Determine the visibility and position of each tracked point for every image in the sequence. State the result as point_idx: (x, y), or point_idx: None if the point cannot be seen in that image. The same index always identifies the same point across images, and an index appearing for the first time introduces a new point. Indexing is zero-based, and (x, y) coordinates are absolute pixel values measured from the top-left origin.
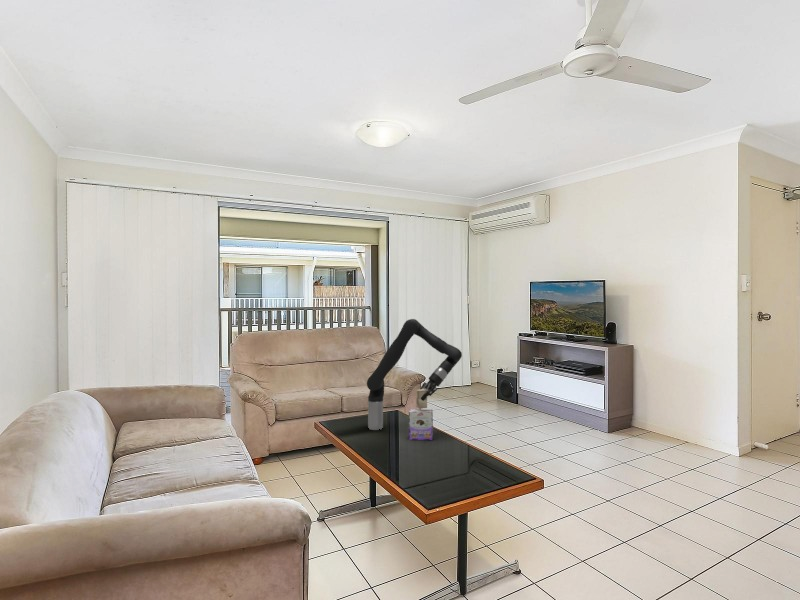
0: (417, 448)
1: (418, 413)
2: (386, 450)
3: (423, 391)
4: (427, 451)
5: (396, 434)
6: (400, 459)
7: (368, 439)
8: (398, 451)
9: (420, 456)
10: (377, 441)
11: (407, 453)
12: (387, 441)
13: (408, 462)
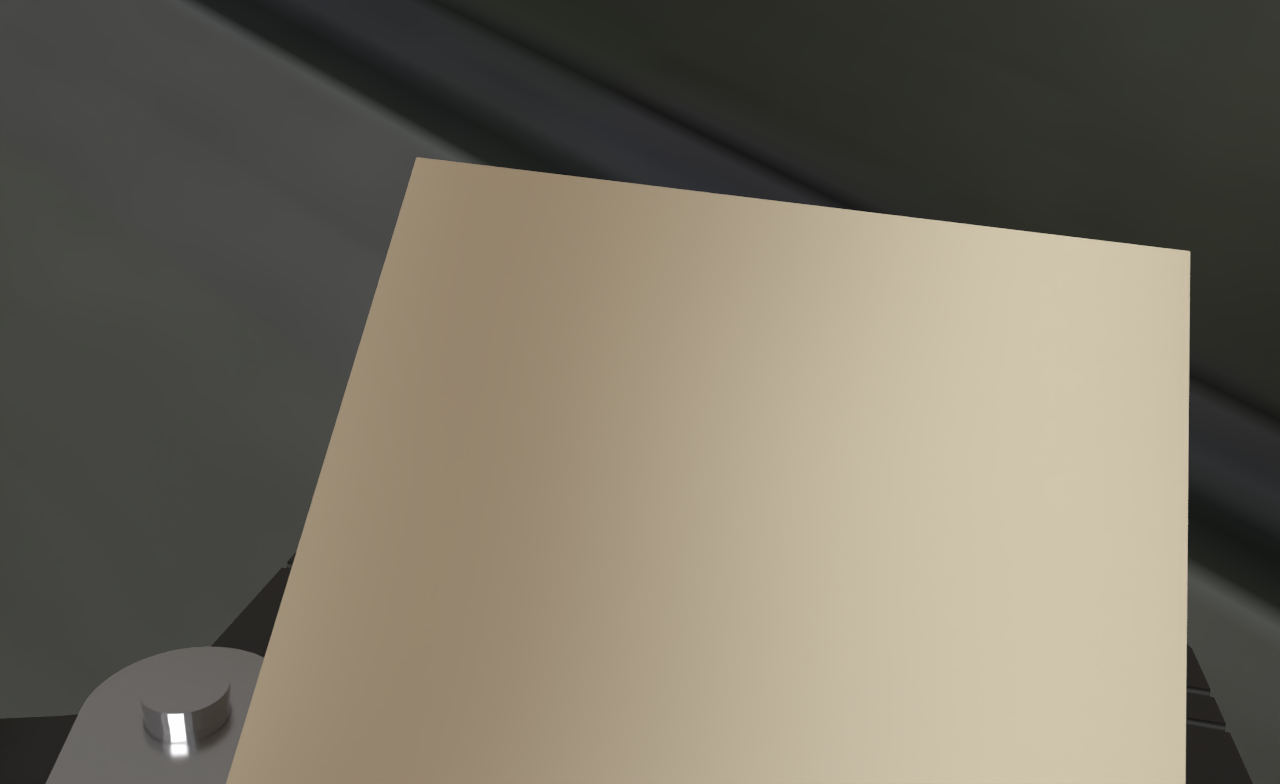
0: (327, 405)
1: None
2: (545, 13)
3: (325, 520)
4: (117, 454)
5: (1214, 527)
6: (156, 3)
7: (1145, 18)
8: (407, 117)
9: (46, 252)
10: (982, 81)
11: (260, 173)
12: (902, 199)
13: (11, 29)
